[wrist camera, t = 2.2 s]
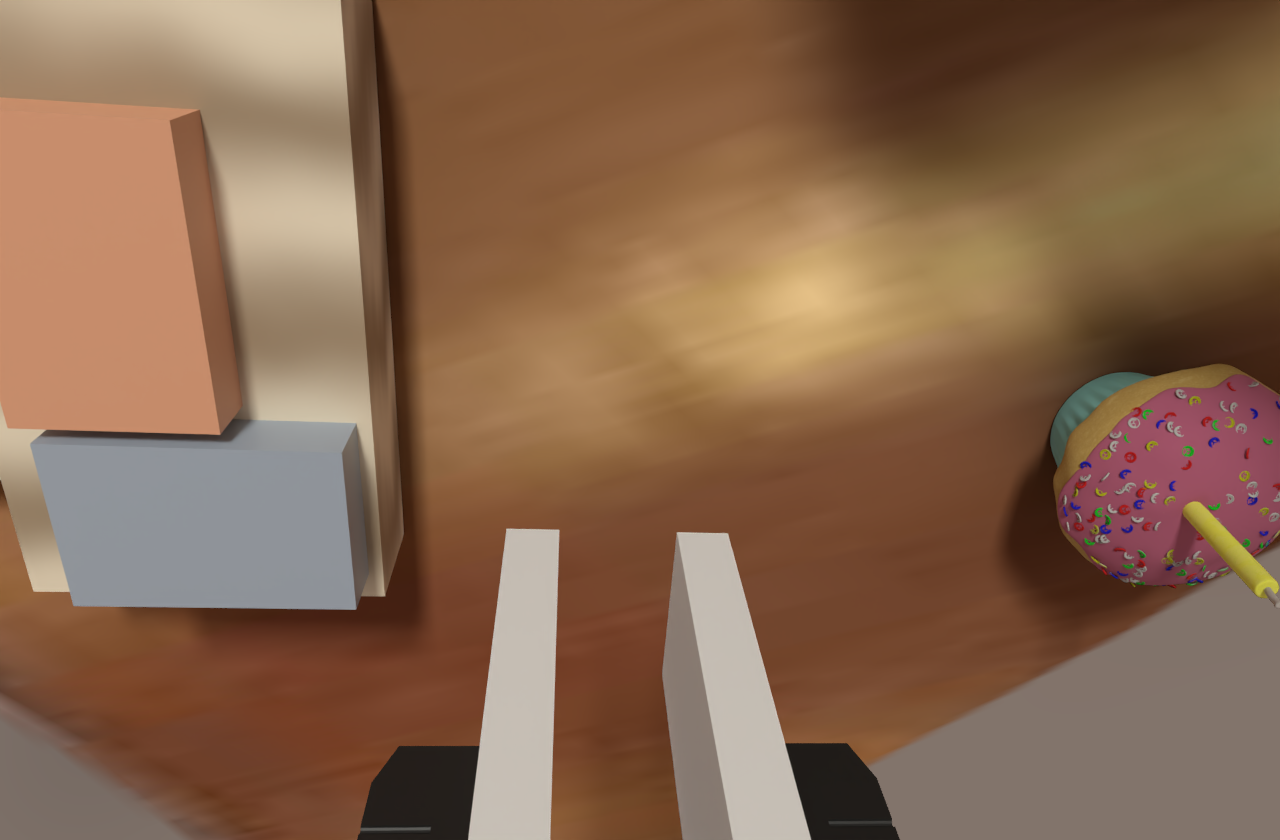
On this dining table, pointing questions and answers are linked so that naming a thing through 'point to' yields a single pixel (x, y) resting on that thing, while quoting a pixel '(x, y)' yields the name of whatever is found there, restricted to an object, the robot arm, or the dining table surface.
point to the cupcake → (1171, 475)
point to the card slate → (208, 515)
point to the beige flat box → (249, 210)
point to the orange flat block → (111, 272)
